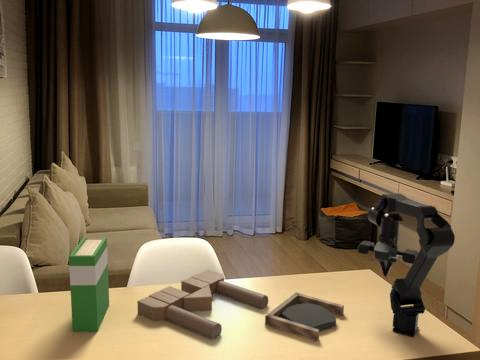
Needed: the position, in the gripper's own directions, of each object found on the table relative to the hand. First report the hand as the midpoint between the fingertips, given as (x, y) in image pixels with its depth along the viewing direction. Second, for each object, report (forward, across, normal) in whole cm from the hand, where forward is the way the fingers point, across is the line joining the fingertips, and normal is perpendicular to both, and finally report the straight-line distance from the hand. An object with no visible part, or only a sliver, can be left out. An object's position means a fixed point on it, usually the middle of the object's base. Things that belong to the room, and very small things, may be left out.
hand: (385, 276), depth 166 cm
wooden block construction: (+13, -50, -32) cm, 61 cm away
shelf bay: (+12, -18, -21) cm, 30 cm away
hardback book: (+12, -76, -59) cm, 97 cm away
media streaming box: (+13, -18, -21) cm, 30 cm away
